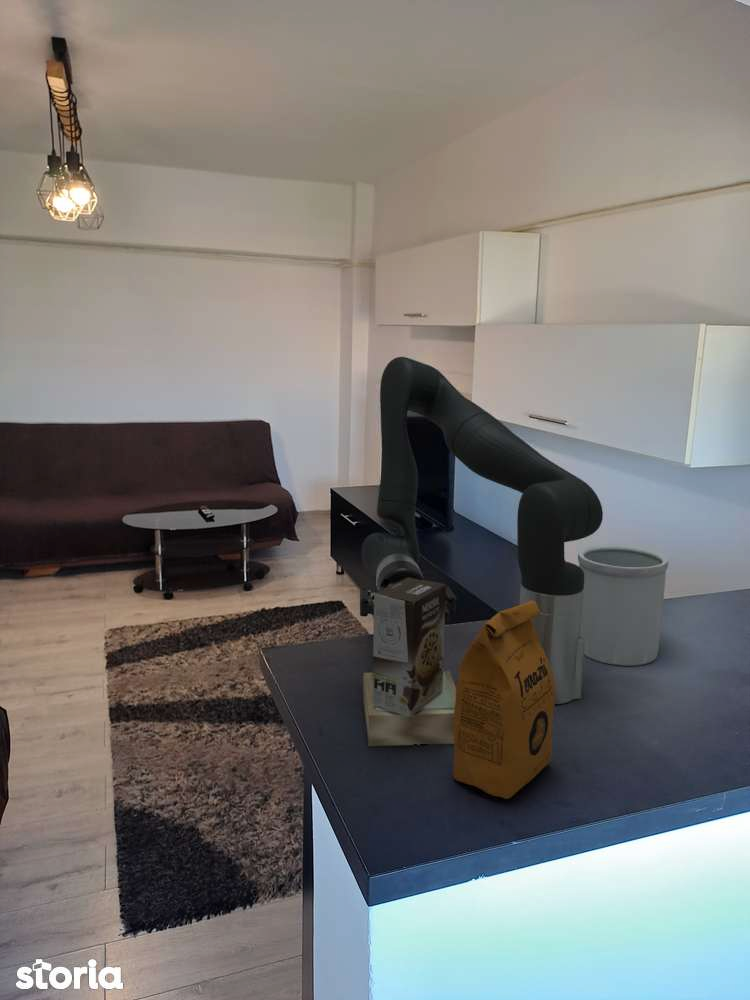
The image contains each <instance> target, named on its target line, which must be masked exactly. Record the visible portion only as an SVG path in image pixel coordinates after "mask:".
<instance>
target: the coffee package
mask: <svg viewBox="0 0 750 1000" xmlns="http://www.w3.org/2000/svg"><path fill="white" fill-rule="evenodd" d="M539 614H540V610H539V608H538V606H537V603H536V602H535V601H529V602H527V603H524V604H522V605H520V604H519V605H516V606H514V607H511V608H507V609H503V610H500V611H499V612H497V613H496V614H495V615H494V616H493V617H491V618H490V619H489V620H488V621H487V622H485V623H484V624H483V625H482V628H481V629H480V631H479V633H477V635H476V637H475V638H474V639H473V641H472V643H471V645H470V646H469V647H468V648H467V649H466V651H465V652H464V653H465V654H464V655H463V657H462V660H461V661H460V666H459V670H458V676H457V683H456V702H455V711H454V744H453V750H454V751H453V773H452V775H453V776H452V777H453V779H454V780H455V781H457V782H460V783H462V784H466V785H469V786H474V787H476V788H478V789H480V790H481V791H483V792H484V793H486V794H488V795H490V796H492V797H499V798H503V799H506V800H508V799H510V798H512V797H513V796H514V795H515V794H516V793H518V791H520V790H521V789H523V787H525V786H526V785H527V784H528V783H530V781H532V780H533V779H534V778H536V777H537V775H538V774H539V773H540V772H541V771H542V770H543V769H544V768H546V766H548V764H549V763H550V761H551V760H552V757H553V727H554V726H553V725H554V723H553V722H554V721H553V720H554V719H553V718H554V714H555V705H556V704H555V694H556V691H555V685H554V677H553V673H552V670H551V667H550V664H549V662H548V659H547V657H546V654H545V652H544V650H543V648H542V647H541V645H540V643H539V641H538V637H537V633H536V630H535V626H534V623H533V622H532V620H531V619H533V618H535V617H537V616H538V615H539Z"/></svg>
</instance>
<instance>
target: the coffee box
mask: <svg viewBox="0 0 750 1000" xmlns="http://www.w3.org/2000/svg"><path fill="white" fill-rule="evenodd" d="M446 586H447V584H445V583H442V582H437V581H430V580H425V579H424V580H418V579H414V578H409V577H407V578H406V579H404V580H401V581H399V582H397V583H395V584H393V585H391V586H389V587H387V588H385V589H383V590H381V591H378V590H377V591H376V592H373V593H374V619H373V635H372V636H373V639H372V640H373V642H372V643H373V644H372V645H373V646H372V647H373V649H372V673H373V688H372V704H373V705H375V706H378V707H381V708H384V709H386V710H389V711H392V712H395V713H398V714H401V715H404V716H407V717H411V716H412V715H413V714H415V713H416V712H417V711H419V710H420V709H421V708H422V707H424V706H425V705H426V704H428V703H429V702H430V701H432V700H433V699H434V698H436V697H437V696H438V695H439V694H441V693H442V690H443V671H444V656H445V655H444V653H445V626H446V625H445V623H446V622H445V599H446Z"/></svg>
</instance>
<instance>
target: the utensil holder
mask: <svg viewBox="0 0 750 1000" xmlns="http://www.w3.org/2000/svg"><path fill="white" fill-rule="evenodd" d="M577 560H578V563H579V564H578V566H579V567H580V568H581V569H582V570H583V572H584V590H583V604H582V619H581V633H580V636H581V637H582V638H583V639H584V641H585V645H584V656H585V657H588V658H589V659H592V660H593V661H597V662H601V663H605V664H608V665H614V666H615V665H616V666H622V667H623V666H626V667H627V666H628V667H630V666H641V665H645V664H646V665H647V664H649V663H651V662H653V661H655V660H656V658H657V657H658V653H659V647H660V646H659V645H660V638H661V631H662V619H663V608H664V598H665V587H666V585H665V584H666V574H667V570H668V568H669V558H668V557H667V556H666V555H665V554H664V553H662V552H659V551H657V550H655V549H651V548H646V547H643V546H642V547H641V546H635V545H629V544H628V545H626V544H599V545H592V546H591V545H590V546H587V547H584V548H582V549H580V550H579V551H578V553H577Z"/></svg>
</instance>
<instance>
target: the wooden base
mask: <svg viewBox="0 0 750 1000" xmlns="http://www.w3.org/2000/svg"><path fill="white" fill-rule="evenodd" d="M362 681H363V691H362V692H363V695H362V696H363V697H362V699H363V701H364V702H363V708H364V710H363V711H364V717H365V718H366V719H365V725H366V733H367V741H368V742H367V744H368V747H382V746H383V747H386V746H387V747H389V746H415V745H414V744H417V745H416V746H418V745H419V746H420V744H428V745H454V711H455V702H456V689H457V686H456V684H455V681H454V679H453V676H452V674H451V671H450V670H443V690H442V693H441V694H439V695H438V696H437V697H436V698H434V699H433V700H432V701H430V702H429V703H428V704H426V705H425V706H424V707H422V708H421V709H420V710H419V711H417V712H416V713H415V714H413V715H412V716H411V717H407V716H404V715H401V714H398V713H395V712H392V711H389V710H386V709H384V708H381V707H378V706H375V705H373V704H372V688H373V672H363V680H362Z"/></svg>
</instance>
